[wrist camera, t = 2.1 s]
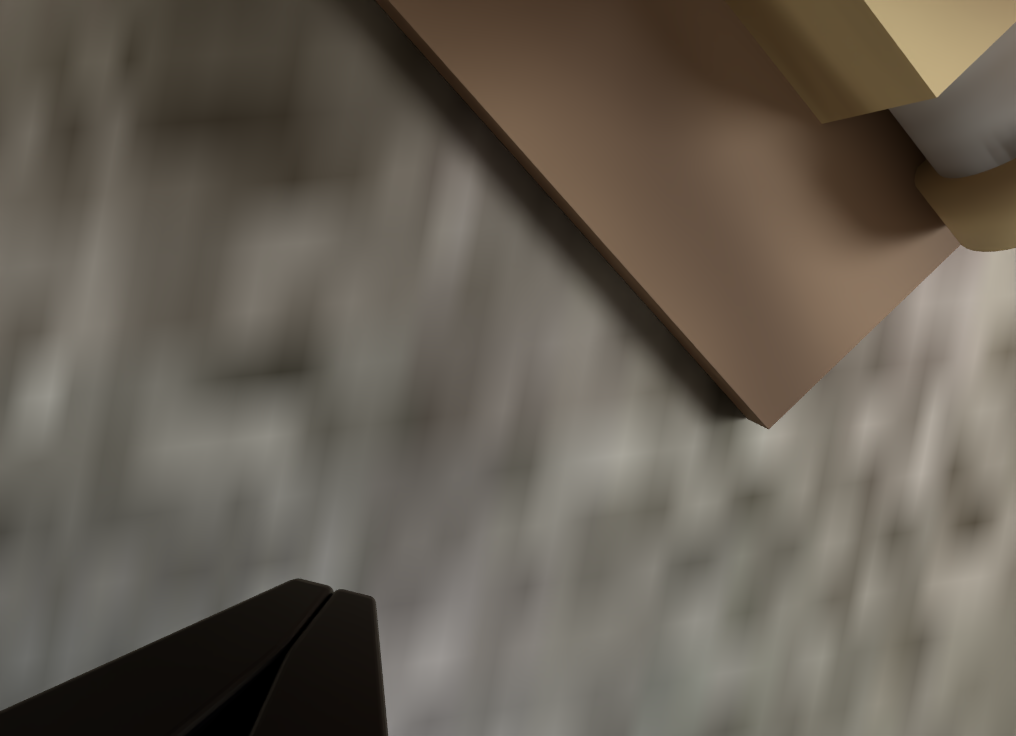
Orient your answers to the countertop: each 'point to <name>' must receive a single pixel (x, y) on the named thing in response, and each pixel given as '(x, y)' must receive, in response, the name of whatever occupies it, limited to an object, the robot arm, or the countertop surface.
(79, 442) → the countertop surface
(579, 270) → the countertop surface
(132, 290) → the countertop surface
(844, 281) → the valve stand
